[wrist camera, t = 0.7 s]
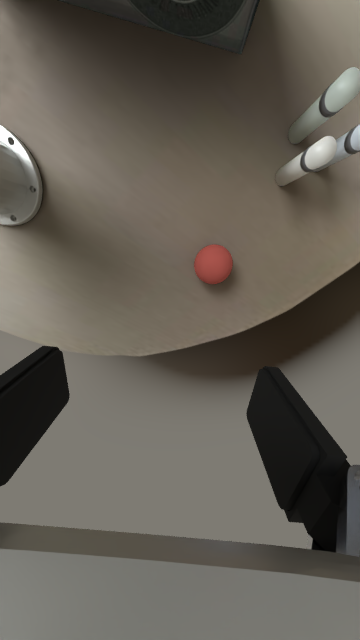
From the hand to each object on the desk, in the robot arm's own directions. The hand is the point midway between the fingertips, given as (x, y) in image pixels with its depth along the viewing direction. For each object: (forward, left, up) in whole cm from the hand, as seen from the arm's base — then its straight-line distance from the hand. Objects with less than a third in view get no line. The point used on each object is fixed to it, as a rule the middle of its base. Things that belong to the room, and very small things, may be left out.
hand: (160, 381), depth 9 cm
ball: (+5, +5, -24) cm, 24 cm away
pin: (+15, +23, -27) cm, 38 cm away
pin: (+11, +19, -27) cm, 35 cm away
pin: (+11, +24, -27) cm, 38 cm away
